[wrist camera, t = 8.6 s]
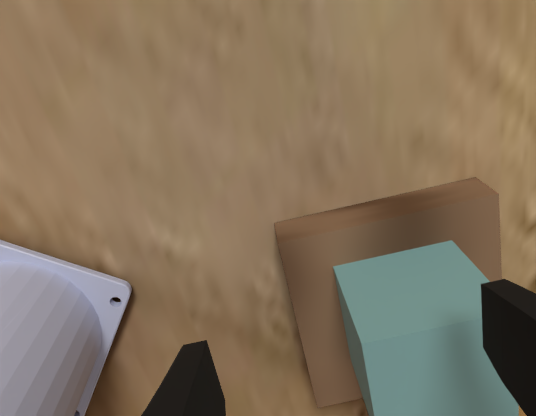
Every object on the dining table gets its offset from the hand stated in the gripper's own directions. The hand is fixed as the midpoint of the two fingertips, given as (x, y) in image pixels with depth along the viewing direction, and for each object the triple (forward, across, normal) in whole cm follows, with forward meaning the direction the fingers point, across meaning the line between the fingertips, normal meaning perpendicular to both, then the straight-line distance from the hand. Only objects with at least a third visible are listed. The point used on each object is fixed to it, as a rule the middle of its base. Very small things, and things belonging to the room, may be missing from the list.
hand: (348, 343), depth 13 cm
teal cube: (+7, -3, +4) cm, 9 cm away
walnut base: (+9, -3, +5) cm, 11 cm away
